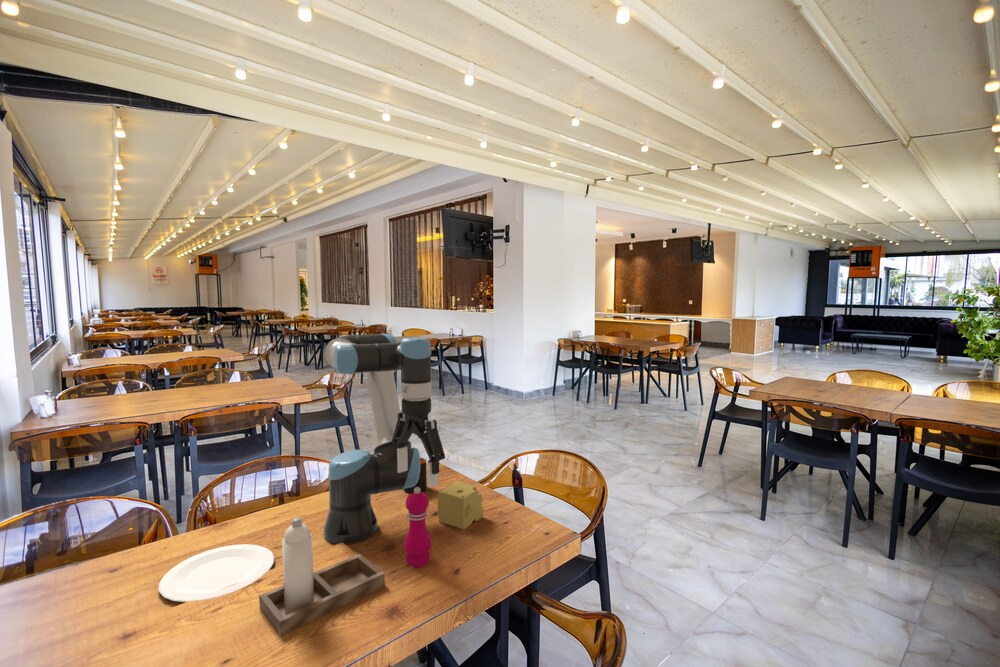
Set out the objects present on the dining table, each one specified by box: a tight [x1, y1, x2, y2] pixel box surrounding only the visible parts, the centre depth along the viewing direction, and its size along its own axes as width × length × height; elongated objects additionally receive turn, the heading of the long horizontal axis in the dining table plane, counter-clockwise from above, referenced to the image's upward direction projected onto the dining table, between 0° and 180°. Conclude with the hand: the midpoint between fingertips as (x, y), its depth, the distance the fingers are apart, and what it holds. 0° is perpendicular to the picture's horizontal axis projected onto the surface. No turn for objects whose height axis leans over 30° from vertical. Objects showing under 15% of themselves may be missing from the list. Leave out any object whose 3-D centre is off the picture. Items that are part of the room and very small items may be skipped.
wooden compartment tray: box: [258, 553, 386, 637], centre depth 109 cm, size 24×12×4 cm, turn 135°
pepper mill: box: [403, 487, 433, 568], centre depth 125 cm, size 7×7×20 cm
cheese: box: [437, 480, 485, 530], centre depth 149 cm, size 10×11×10 cm
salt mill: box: [281, 517, 314, 615], centre depth 104 cm, size 6×6×20 cm
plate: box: [158, 543, 275, 603], centre depth 119 cm, size 25×25×2 cm
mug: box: [402, 457, 428, 495], centre depth 170 cm, size 8×12×10 cm
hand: (417, 478), depth 124 cm, fingers open, 13 cm apart
